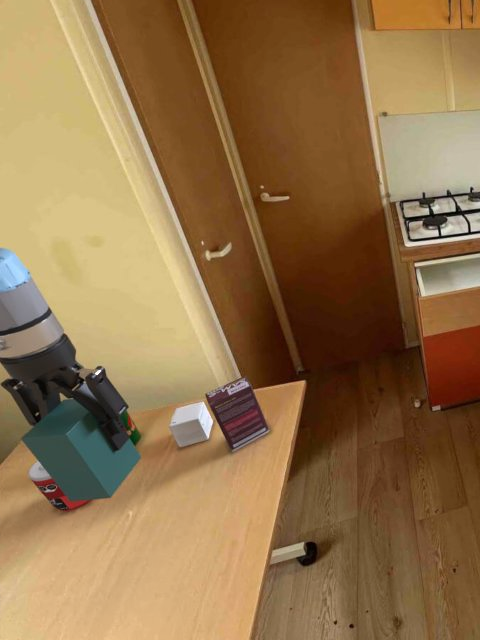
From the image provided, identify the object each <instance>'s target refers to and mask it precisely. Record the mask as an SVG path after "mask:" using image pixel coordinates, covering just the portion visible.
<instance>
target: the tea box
mask: <svg viewBox="0 0 480 640" xmlns="http://www.w3.org/2000/svg"><path fill="white" fill-rule="evenodd" d="M100 423H101V421H100V420H99V419H98V418H96V417H95V416H94V415H93V414H92V413H91V411H88V410H87V409H85V408H84V407H83V406H82V405H80V404H79V403H78V402H77V401H75V400H74V399H73V398H70V399H68V398H65V399H63V400H61V403H60V404H59V405H58V406H57V407H56V408H55V409H54V410H52V411H51V412H50V413H49V414H47V415H46V416H45V417H44V418H43V419H42V420H41V421H39V422H38V423H37V424H36V425H35V426H32V427H31V428H30V429H29V430H28V431H27V432H26V433H25V434H23V436H22V437H21V438H20V440H21V441H22V442H23V444H24V445H25V446H26V448H27V449H28V450H29V451H30V453H31V454H32V455H33V456H34V457H35V459H36V460H37V461H39V462H40V464H41V465H42V466H43V467H44V469H45V470H46V471H47V473H48V474H49V475H50V476H51V478H52V479H53V480H54V481H55V483H56V484H57V485H58V486H59V488H60V489H61V490H62V492H63V493H64V494H65V495H66V497H67V498H68V499H69V500H70V502H72V501H83V500H92V501H95V500H102V499H103V500H104V499H111V498H112V497H113V496H114V494H115V493H116V492H117V491H118V489H120V487H121V485H122V484H123V483H124V481H125V480H126V479H127V478H128V476H129V475H130V473H132V471H133V470H134V468H135V467H136V466H137V464H138V463H139V462H140V461H141V460H142V456H141V454H140V453H139V451H138V449H137V448H136V447H135V446H136V445H135V446H134V445H133V443H132V441H131V440H130V438H129V439H128V441H127V442H126V443H125V444H124V445H123V447H122V448H121V449H120V450H118V451H115V450H114V449H113V447H112V446H111V444H110V443H109V441H108V440H107V438H106V436H105V435H104V433H103V432H102V430H101V429H100V427H99V426H98V425H99V424H100Z"/></svg>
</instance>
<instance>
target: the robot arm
mask: <svg viewBox="0 0 480 640" xmlns="http://www.w3.org/2000/svg"><path fill="white" fill-rule="evenodd" d="M76 356H77V348H76V347H75V345H74V344H73V342H72V340H71V339H70V337H69V336H68V334H67V333H65V329H64V327H63V326H62V324H61V322H60V321H59V319H58V318H57V316H56V314H55V313H54V312H53V310H52V308H51V307H50V306H49V304H48V302H47V300H46V299H45V297H44V295H43V294H42V292H41V290H40V289H39V287H38V285H37V284H36V282H35V280H34V278H33V277H32V274H31V271H30V270H29V269H28V268H27V267H26V266H25V265H24V264H23V262H22V261H21V260H20V258H19V257H18V256H17V254H16V253H15V251H13V250H11V249H8V248H5V247H0V364H1V366H2V367H3V369H4V370H5V371H6V373H7V374H8V377H7V378H6V379H4V380H3V381H2V382H1V383H0V386H1V387H2V388H3V389H5V390H6V391H7V392H8V393H9V394H10V395H11V397H12V399H13V401H14V402H15V404H16V405H17V407H18V408H19V411H21V414H22V415H23V417H24V418H25V420H26V421H27V424H29V425H30V426H31V427H34V426H35V425H36V424H37V423H38V422H39V421H41V420H42V419H43V418H44V417H45V416H46V415H47V414H49V413H50V412H51V411H52V410H54V409H55V408H56V407H57V406H58V405H59V404H60V403H61V402H62V399H61V395H62V396H63V397H65V399H74V400H75V401H77V402H78V403H79V404H80V405H82V406H83V407H84V408H85V409H87V410H88V411H91V413H92V414H93V415H94V416H95V417H96V418H98V419H99V420H100V421H101V423H100V424H99V425H98V426H99V427H100V429H101V430H102V432H103V433H104V435H105V436H106V438H107V440H108V441H109V443H110V444H111V446H112V447H113V449H114V450H115V451H118V450H120V449H121V448H122V447H123V445H124V444H125V443H126V442H127V441H128V439H129V438H130V437H129V435H128V433H127V432H126V430H125V429H124V428H125V424H124V422H123V421H122V419H121V415H122V414H123V413H124V412H125V411H126V410H127V411H128V409H129V405H128V403H127V402H126V400H125V398H123V396H122V395H121V393H119V391H118V390H117V388H116V387H115V386H114V385H113V383H112V382H111V380H110V379H109V377H108V376H107V371H106V368H105V367H104V366H103V365H98V366H96V367H95V368H94V369H93V368H85V367H84V366H83V365H82V364H81V363H79V362H78V361H77V359H76Z"/></svg>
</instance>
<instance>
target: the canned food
mask: <svg viewBox="0 0 480 640" xmlns="http://www.w3.org/2000/svg"><path fill="white" fill-rule="evenodd" d="M27 475H28V477H29V479H30V480H31V482H32V483H33V484H34V486H35V487H36V488H37V489H38V490H39V492H40V493H41V494H42V495H43V496H44V497H45V499H46V500H47V501H48V502H49V503H50V504H51V506H52V507H53V508H54V509H55V510H57V511H59V512H64V513H65V512H70V511H74V510H78V509H80V508H82V507H84V506H86V505H87V504H89V503H90V502H92V501H93V500H83V501H72V502H70V500H69V499H68V498H67V497H66V495H65V494H64V493H63V492H62V490H61V489H60V488H59V486H58V485H57V484H56V483H55V481H54V480H53V479H52V478H51V476H50V475H49V474H48V473H47V471H46V470H45V469H44V467H43V466H42V465H41V464H40V462H39V461H38V460H37V461H36V462H35V463H34V464H32V466H31V467H30V468H29V470H28V473H27Z"/></svg>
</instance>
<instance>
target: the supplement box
mask: <svg viewBox="0 0 480 640" xmlns="http://www.w3.org/2000/svg"><path fill="white" fill-rule="evenodd" d="M204 395H205V399H206V401H207V403H208V406H209V408H210V410H211V412H212V414H213V417H214V418H215V421H216V422H217V424H218V427H219V428H220V429H219V430H220V431H221V433H222V434H223V437H224V439H225V442H226V444H227V445H228V446H229V449H230V450H231V452H232V453H234V452H236V451H238V450H240V449H242V448H243V447H245V446H247V445H249V444H251V443H252V442H254V441H256V440H258V439H260V438H262V437H264V436H265V435H266V434H269V433H270V428H269V425H268V423H267V420H266V418H265V415H264V413H263V410H262V407H261V406H260V404H259V401H258V399H257V396H256V394H255V391H254V388H253V387H252V383H251V382H250V381H249V380H248V378H247V376H246V375H244V376H241V377H239V378H237V379H235V380H233V381H231V382H228V383H226V384H224V385H222V386H220V387H218V388H215V389H213V390H210V391H209V392H207V393H204Z"/></svg>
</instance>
